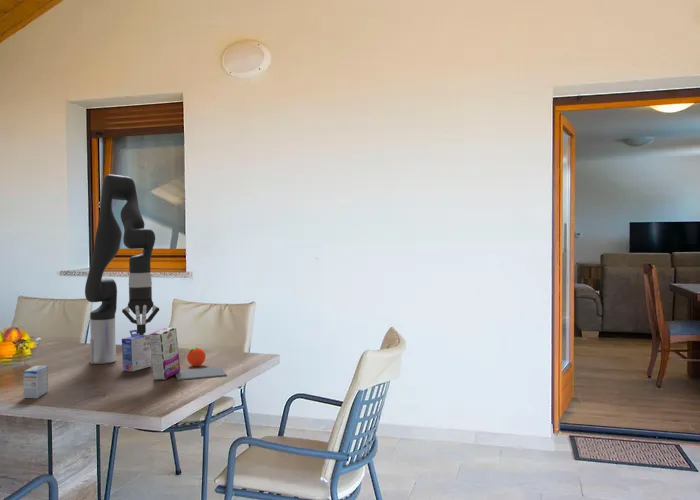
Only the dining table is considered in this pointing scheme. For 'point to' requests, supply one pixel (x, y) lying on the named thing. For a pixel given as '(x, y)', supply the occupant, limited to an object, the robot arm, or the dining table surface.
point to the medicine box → (35, 381)
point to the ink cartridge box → (136, 352)
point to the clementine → (196, 356)
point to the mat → (200, 373)
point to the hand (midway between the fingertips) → (141, 334)
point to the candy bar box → (164, 353)
